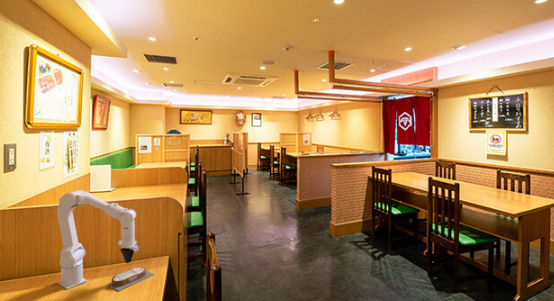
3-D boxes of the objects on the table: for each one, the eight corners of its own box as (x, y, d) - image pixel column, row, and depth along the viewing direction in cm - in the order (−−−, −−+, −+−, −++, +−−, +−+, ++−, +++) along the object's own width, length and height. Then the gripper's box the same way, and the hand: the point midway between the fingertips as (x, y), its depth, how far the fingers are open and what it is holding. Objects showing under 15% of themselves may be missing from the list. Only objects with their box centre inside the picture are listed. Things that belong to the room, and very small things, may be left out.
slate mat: (108, 285, 117) (108, 284, 117) (143, 269, 132) (143, 269, 132) (118, 291, 113) (118, 290, 113) (153, 274, 127) (153, 273, 127)
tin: (108, 282, 119) (115, 290, 114) (108, 276, 119) (116, 283, 114) (140, 270, 131) (148, 276, 126) (141, 264, 131) (149, 270, 126)
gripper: (144, 235, 123) (144, 262, 123) (128, 229, 130) (128, 255, 131) (130, 240, 117) (130, 268, 117) (113, 234, 124) (113, 260, 125)
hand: (128, 262), depth 124 cm, fingers closed
